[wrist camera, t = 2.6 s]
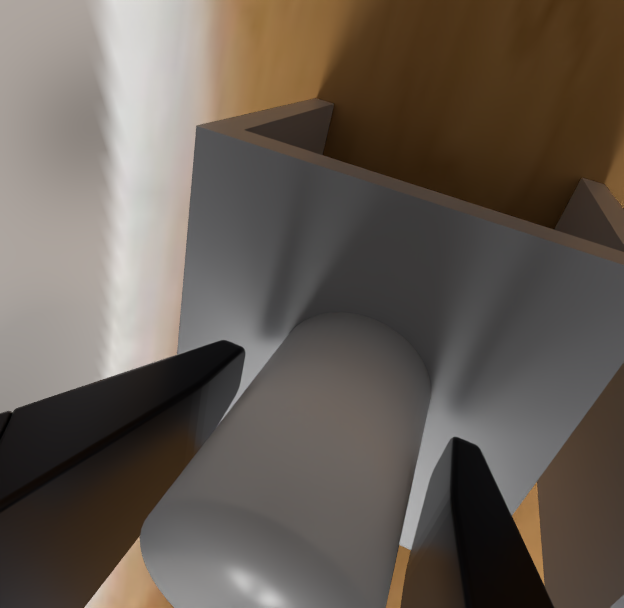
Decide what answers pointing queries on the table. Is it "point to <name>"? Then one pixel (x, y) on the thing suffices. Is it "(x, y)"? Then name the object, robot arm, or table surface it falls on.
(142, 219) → the table surface
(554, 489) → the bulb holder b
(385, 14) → the table surface
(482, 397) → the hood
